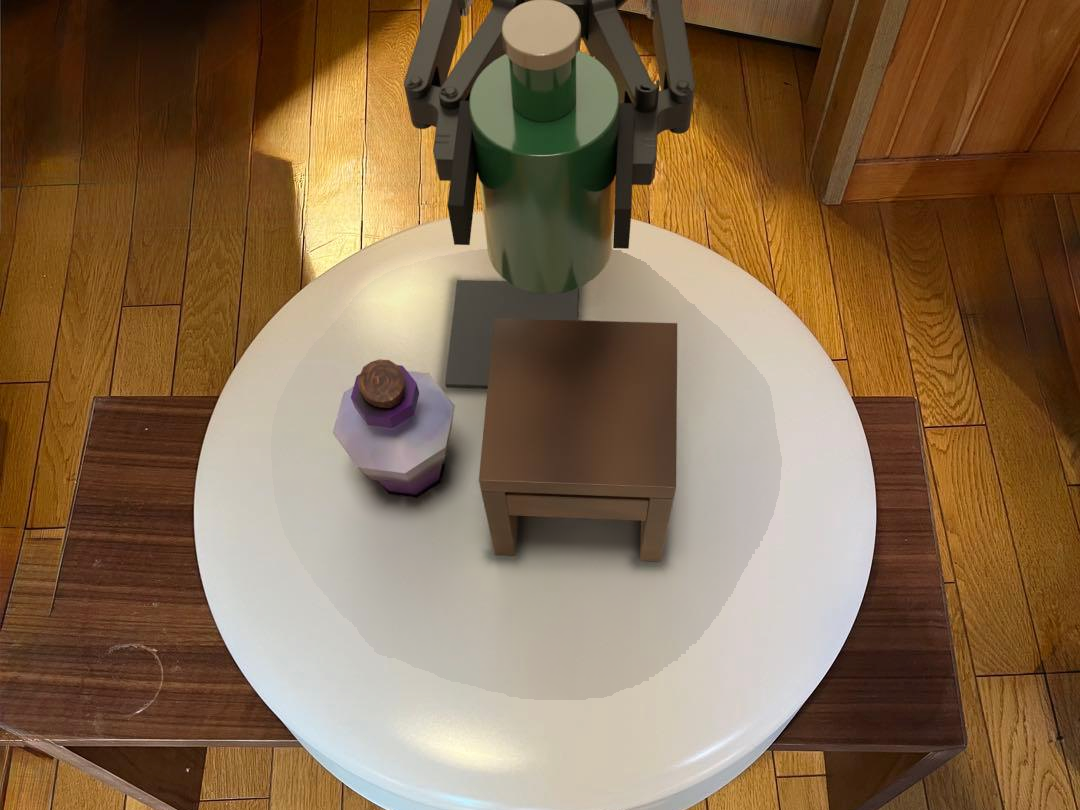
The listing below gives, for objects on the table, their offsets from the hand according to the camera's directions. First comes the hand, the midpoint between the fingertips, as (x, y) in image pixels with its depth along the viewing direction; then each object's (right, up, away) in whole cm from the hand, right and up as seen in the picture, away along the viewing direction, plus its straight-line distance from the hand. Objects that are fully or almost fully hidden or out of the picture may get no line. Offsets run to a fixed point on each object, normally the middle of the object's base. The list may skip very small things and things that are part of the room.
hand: (540, 227), depth 46 cm
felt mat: (-2, +2, +32) cm, 32 cm away
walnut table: (+3, -11, +26) cm, 29 cm away
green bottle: (+1, +2, +8) cm, 9 cm away
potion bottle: (-10, -9, +28) cm, 31 cm away
